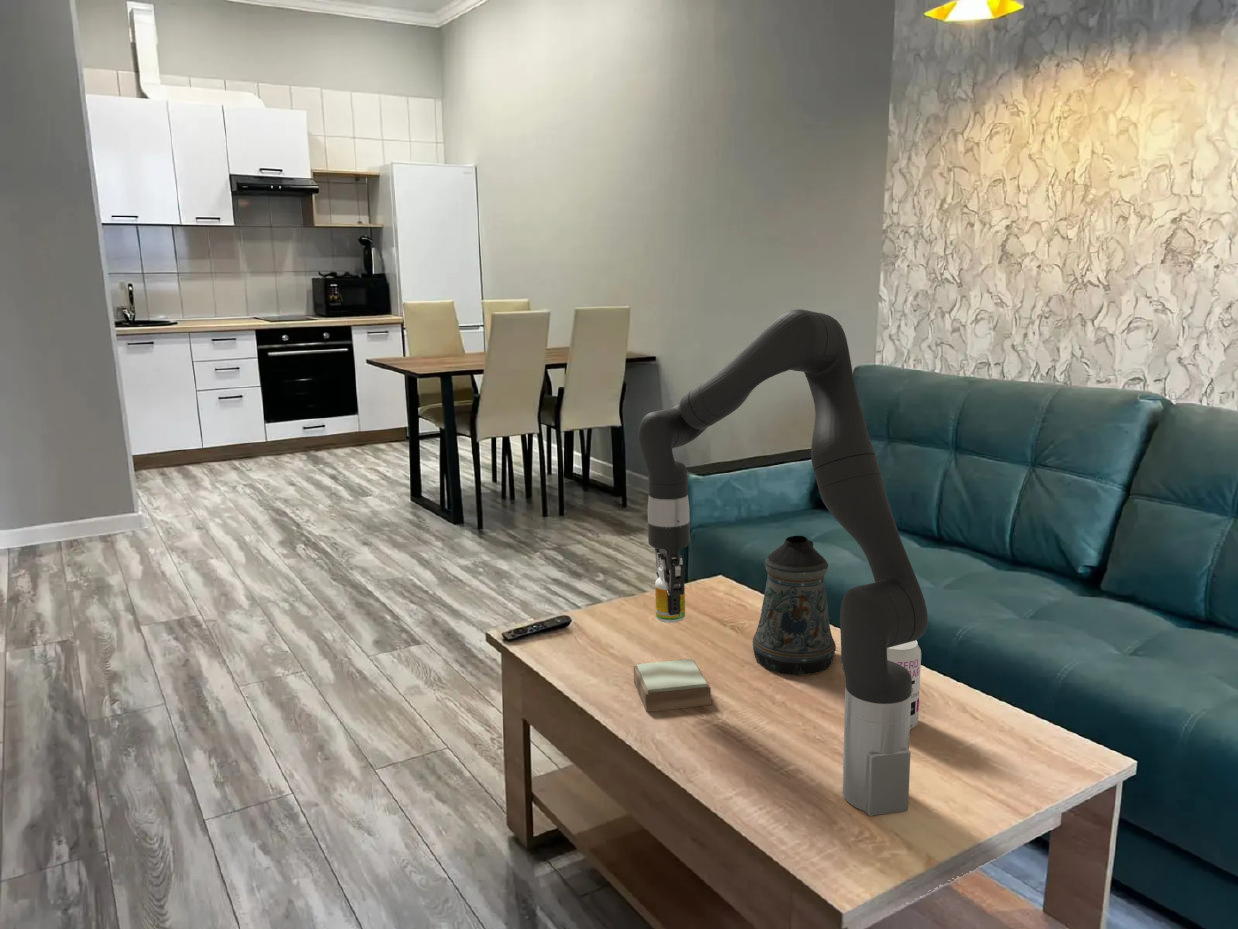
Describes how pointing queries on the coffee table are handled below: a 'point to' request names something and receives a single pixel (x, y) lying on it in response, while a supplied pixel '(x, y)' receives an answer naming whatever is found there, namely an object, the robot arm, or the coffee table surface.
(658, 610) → the supplement bottle
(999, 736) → the coffee table surface
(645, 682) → the plinth
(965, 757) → the coffee table surface
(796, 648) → the painted ceramic vase
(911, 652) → the supplement can
